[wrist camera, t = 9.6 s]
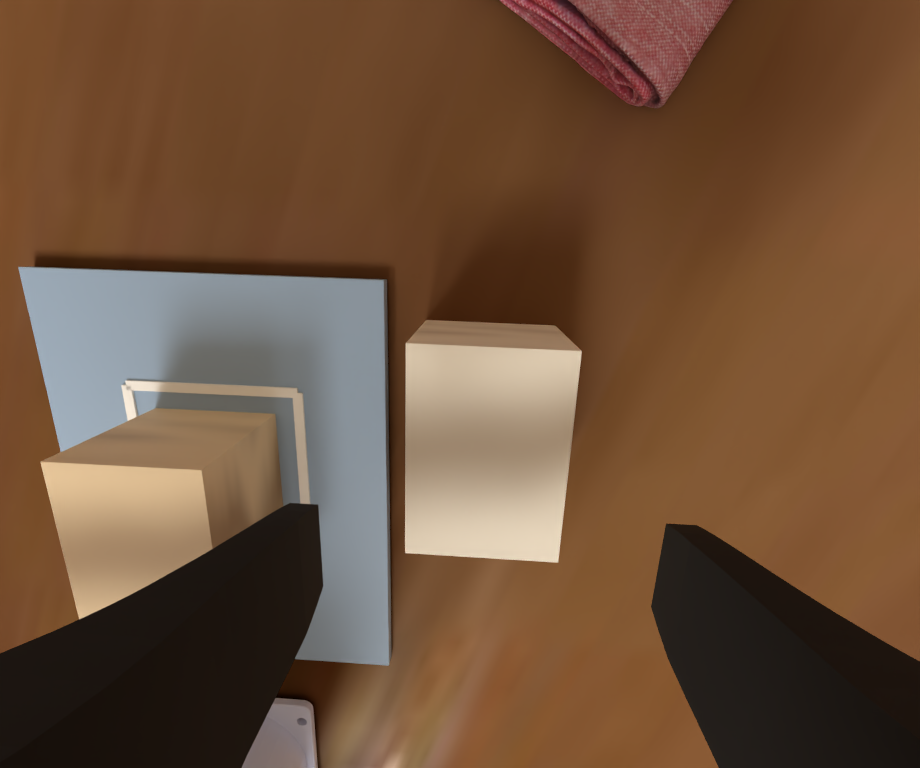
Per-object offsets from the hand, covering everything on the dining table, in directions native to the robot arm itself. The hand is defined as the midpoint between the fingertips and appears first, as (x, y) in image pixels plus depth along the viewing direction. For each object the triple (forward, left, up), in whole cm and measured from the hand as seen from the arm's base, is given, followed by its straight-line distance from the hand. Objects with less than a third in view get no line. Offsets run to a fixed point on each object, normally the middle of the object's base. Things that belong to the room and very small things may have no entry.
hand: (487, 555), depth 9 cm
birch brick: (0, 0, -10) cm, 10 cm away
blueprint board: (-4, +11, -9) cm, 15 cm away
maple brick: (-4, +11, -9) cm, 15 cm away
